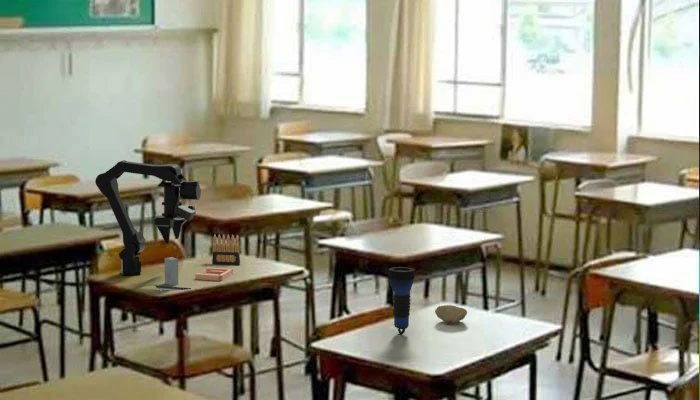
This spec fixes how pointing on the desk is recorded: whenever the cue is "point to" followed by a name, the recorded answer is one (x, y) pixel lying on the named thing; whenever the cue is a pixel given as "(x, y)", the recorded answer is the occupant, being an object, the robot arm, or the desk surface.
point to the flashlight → (401, 295)
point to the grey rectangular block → (171, 271)
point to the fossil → (450, 313)
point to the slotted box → (215, 274)
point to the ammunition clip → (226, 251)
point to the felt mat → (170, 288)
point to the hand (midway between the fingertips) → (172, 241)
